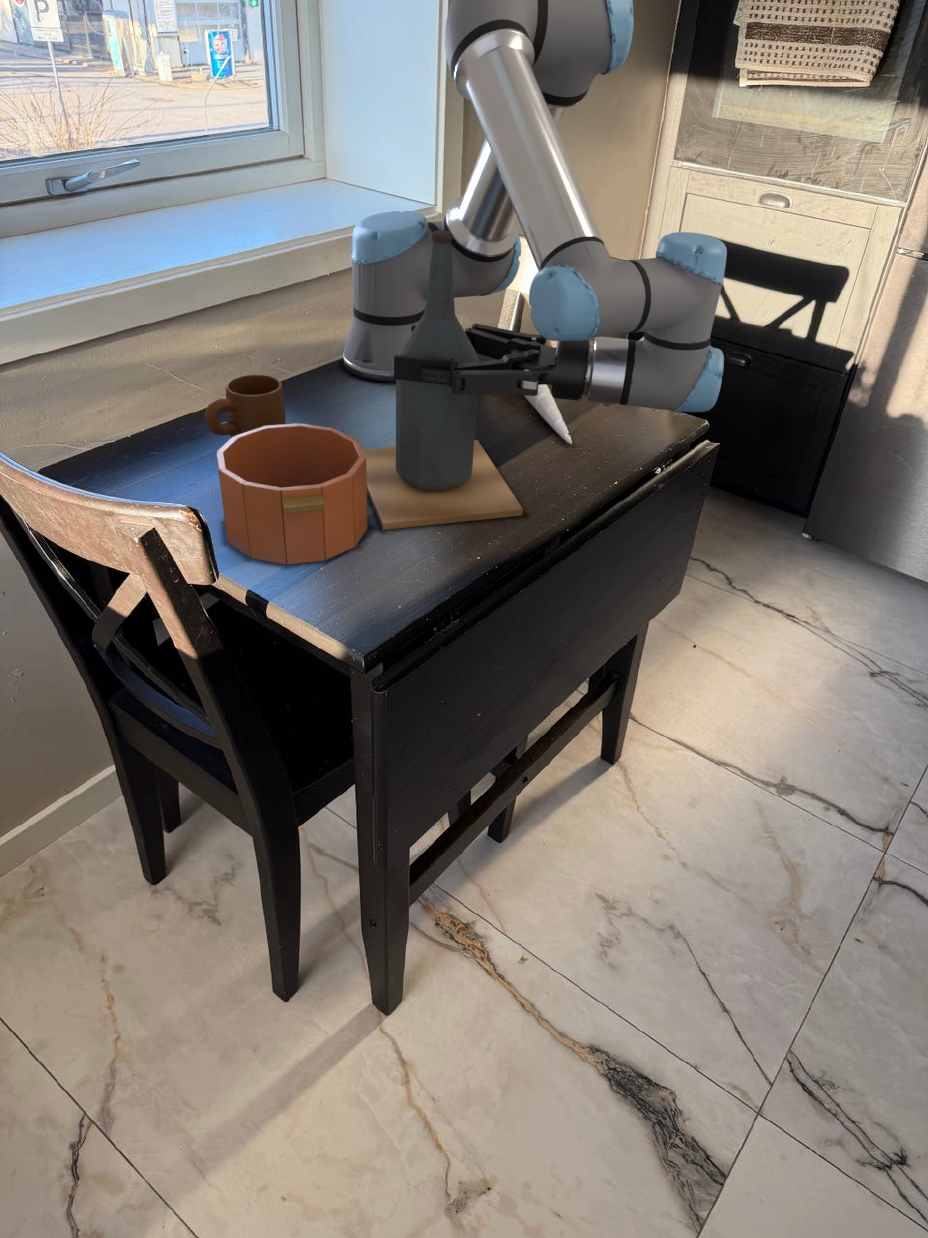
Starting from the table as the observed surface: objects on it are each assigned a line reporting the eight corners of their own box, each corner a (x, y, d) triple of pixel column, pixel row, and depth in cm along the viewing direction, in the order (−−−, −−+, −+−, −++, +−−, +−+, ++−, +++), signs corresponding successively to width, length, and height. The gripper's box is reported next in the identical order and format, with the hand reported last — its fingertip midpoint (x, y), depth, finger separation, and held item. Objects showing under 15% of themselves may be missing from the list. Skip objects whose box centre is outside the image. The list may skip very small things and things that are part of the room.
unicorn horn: (545, 448, 130) (549, 417, 128) (506, 384, 149) (509, 355, 146) (577, 446, 131) (581, 415, 128) (534, 383, 150) (537, 354, 147)
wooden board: (352, 456, 125) (352, 449, 125) (477, 446, 130) (477, 439, 129) (382, 530, 110) (382, 523, 110) (522, 515, 115) (523, 508, 114)
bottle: (448, 450, 125) (458, 217, 107) (487, 480, 118) (505, 237, 100) (381, 465, 120) (380, 225, 102) (419, 498, 113) (424, 247, 96)
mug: (231, 478, 119) (223, 411, 113) (194, 460, 122) (184, 394, 117) (299, 449, 126) (295, 384, 121) (262, 432, 130) (256, 369, 124)
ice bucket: (220, 491, 116) (211, 422, 110) (349, 480, 120) (347, 412, 114) (233, 580, 100) (223, 505, 94) (381, 564, 104) (380, 491, 99)
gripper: (579, 438, 101) (384, 417, 103) (586, 365, 119) (419, 348, 121) (588, 373, 97) (383, 353, 99) (593, 307, 115) (420, 291, 117)
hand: (403, 350), depth 110 cm, fingers closed on bottle, 10 cm apart
